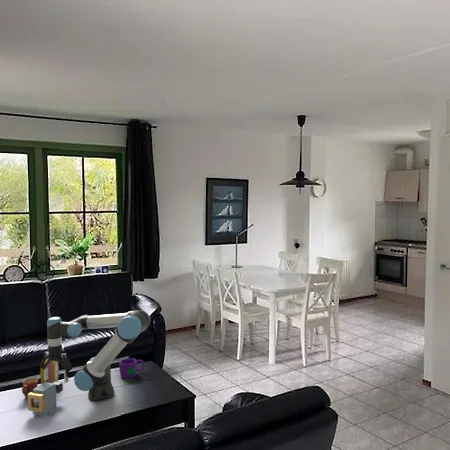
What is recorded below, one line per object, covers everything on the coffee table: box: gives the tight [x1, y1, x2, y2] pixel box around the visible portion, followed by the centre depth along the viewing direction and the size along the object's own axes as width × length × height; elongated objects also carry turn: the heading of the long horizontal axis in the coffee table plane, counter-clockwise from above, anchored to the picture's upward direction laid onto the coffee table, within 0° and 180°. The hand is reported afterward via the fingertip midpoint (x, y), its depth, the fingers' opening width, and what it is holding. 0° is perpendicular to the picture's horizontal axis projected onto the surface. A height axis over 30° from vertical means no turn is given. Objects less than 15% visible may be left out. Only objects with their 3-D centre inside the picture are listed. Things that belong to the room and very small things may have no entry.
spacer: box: [27, 392, 46, 412], centre depth 256 cm, size 9×2×9 cm, turn 74°
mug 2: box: [118, 357, 146, 379], centre depth 313 cm, size 17×11×10 cm, turn 124°
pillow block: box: [32, 382, 59, 417], centre depth 263 cm, size 12×10×14 cm
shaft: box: [33, 381, 64, 404], centre depth 265 cm, size 5×21×5 cm, turn 164°
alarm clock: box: [39, 357, 60, 385], centre depth 296 cm, size 15×8×18 cm, turn 9°
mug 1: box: [21, 377, 39, 400], centre depth 280 cm, size 12×9×10 cm
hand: (56, 380), depth 273 cm, fingers open, 13 cm apart
